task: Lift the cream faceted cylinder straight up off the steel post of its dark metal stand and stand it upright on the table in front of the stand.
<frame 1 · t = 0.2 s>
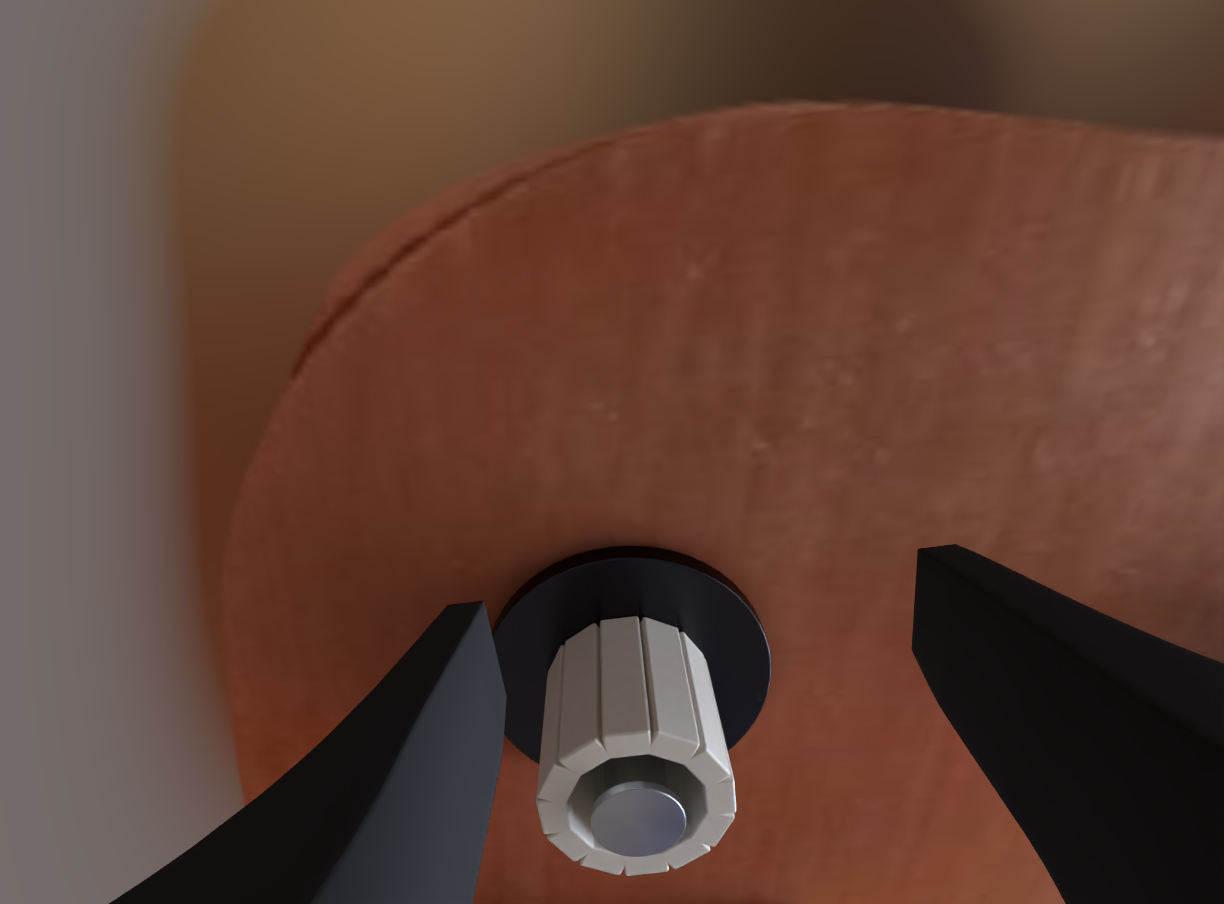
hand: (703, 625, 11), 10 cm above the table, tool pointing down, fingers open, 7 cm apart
roll stand: (627, 666, 24), on the table
cream faceted cylinder: (628, 681, 23), point 1 cm above the table, touching roll stand
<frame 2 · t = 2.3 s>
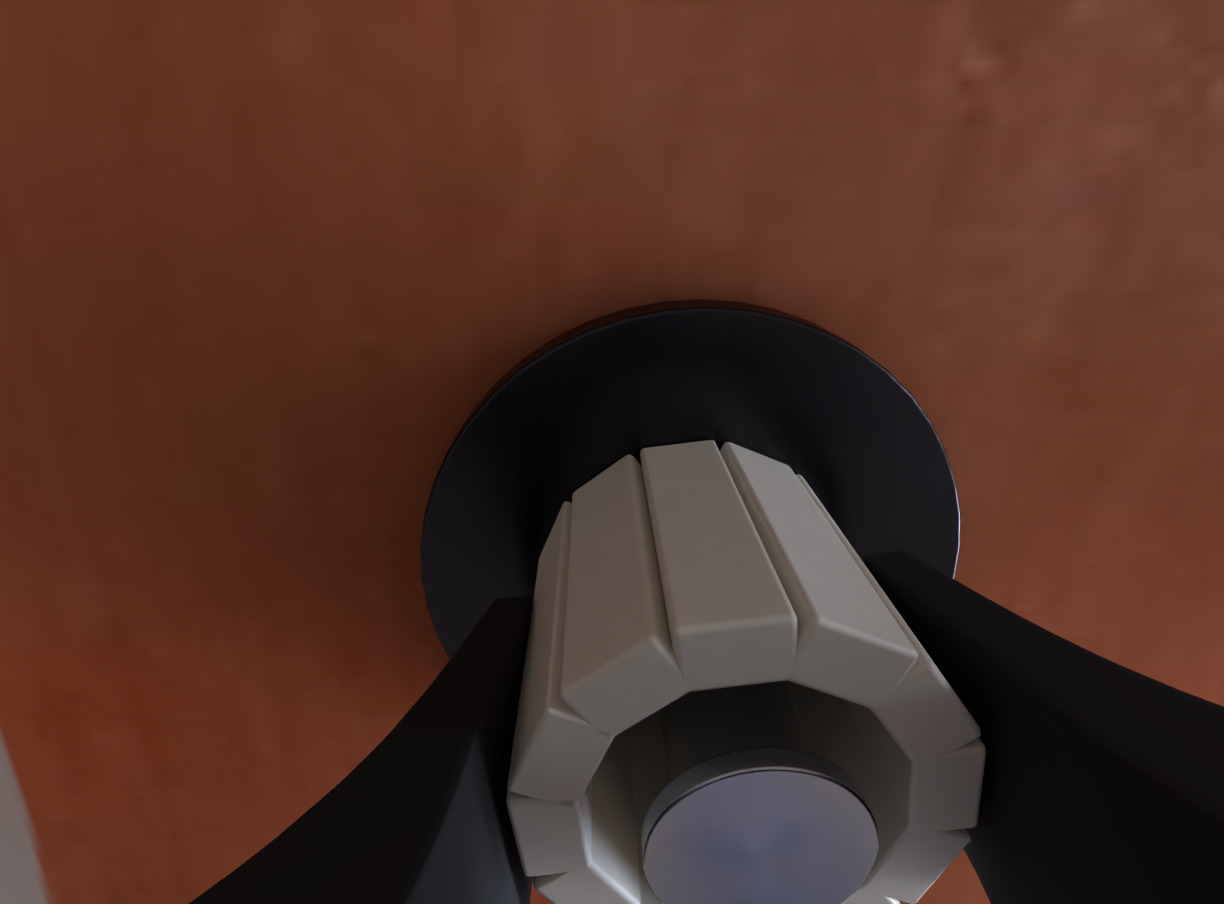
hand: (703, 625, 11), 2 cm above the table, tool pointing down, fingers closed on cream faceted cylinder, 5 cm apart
roll stand: (686, 555, 13), on the table
cream faceted cylinder: (689, 578, 12), point 1 cm above the table, touching gripper, roll stand
when the fingers open (1 cm above the table, at t = 7.9 s): cream faceted cylinder stays where it is, on the table.
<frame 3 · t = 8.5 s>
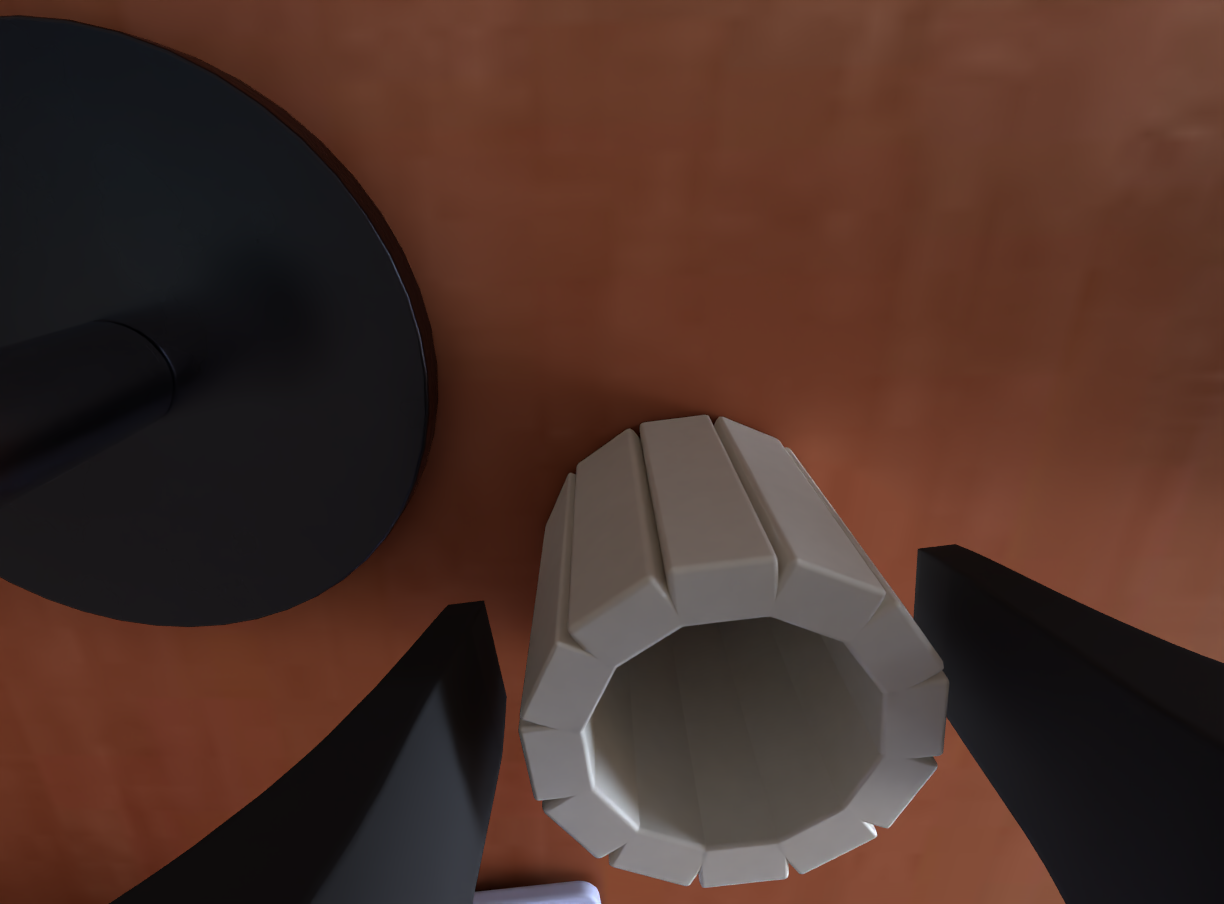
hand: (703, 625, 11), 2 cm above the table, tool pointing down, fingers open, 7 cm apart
roll stand: (148, 362, 12), on the table
cream faceted cylinder: (685, 546, 13), on the table
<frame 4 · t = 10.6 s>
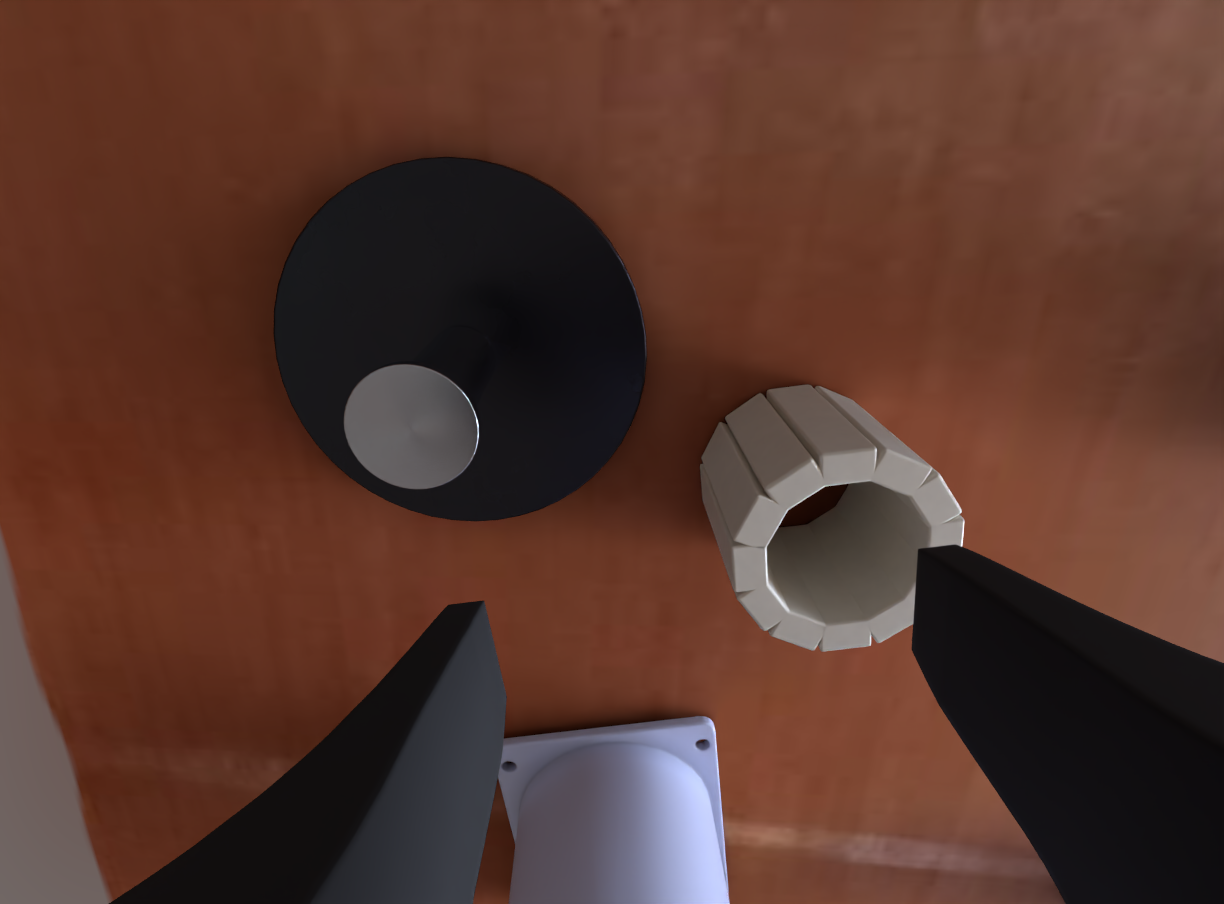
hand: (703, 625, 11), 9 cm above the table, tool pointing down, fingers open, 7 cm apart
roll stand: (467, 351, 19), on the table
cream faceted cylinder: (789, 471, 20), on the table
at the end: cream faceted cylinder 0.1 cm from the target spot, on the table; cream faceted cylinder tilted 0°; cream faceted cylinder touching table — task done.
